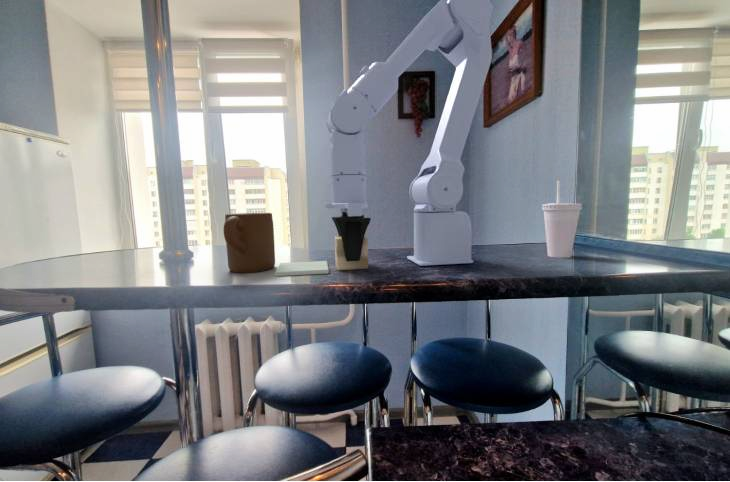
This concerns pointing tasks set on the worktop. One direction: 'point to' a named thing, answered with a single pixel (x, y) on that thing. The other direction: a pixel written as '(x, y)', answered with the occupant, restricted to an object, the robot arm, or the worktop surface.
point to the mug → (249, 242)
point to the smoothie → (560, 226)
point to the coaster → (302, 268)
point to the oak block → (346, 265)
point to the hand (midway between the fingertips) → (351, 258)
